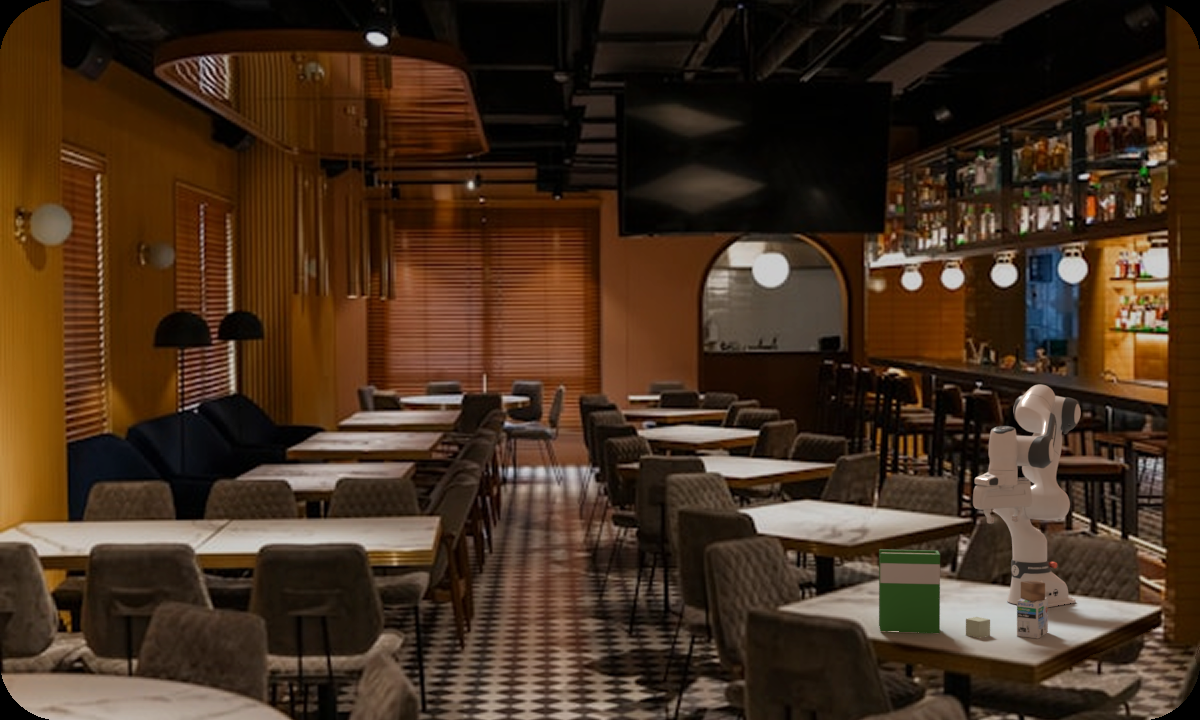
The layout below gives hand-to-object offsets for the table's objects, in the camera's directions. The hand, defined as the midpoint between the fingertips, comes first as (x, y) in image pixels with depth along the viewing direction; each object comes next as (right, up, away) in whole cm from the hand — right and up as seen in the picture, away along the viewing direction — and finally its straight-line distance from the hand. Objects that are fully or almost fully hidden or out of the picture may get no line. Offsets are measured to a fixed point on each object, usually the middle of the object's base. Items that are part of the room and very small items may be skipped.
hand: (1002, 522), depth 460 cm
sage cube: (-13, -32, -20) cm, 40 cm away
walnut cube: (+4, -21, -19) cm, 29 cm away
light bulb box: (+4, -32, -19) cm, 37 cm away
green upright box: (-32, -32, -13) cm, 47 cm away
